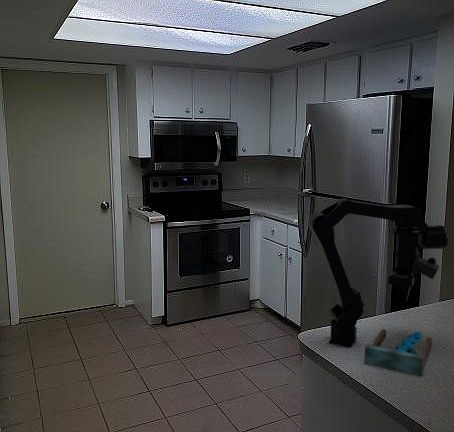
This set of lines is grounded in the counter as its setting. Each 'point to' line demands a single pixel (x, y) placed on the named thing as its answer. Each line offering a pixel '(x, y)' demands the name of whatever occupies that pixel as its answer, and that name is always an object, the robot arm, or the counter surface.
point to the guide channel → (396, 356)
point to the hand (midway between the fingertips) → (404, 301)
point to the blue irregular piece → (409, 343)
